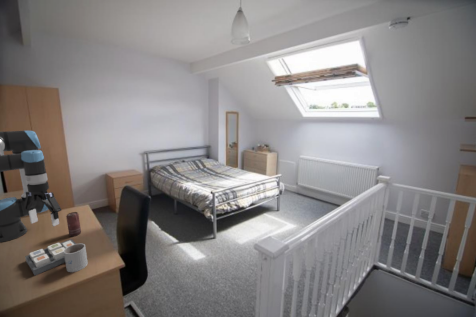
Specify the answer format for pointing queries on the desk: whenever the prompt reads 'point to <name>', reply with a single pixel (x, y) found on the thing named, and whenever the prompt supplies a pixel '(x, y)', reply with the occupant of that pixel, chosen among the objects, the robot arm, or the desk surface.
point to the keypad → (53, 262)
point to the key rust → (41, 260)
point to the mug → (75, 257)
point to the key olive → (54, 247)
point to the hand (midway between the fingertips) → (45, 223)
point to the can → (73, 224)
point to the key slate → (36, 254)
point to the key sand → (58, 253)
